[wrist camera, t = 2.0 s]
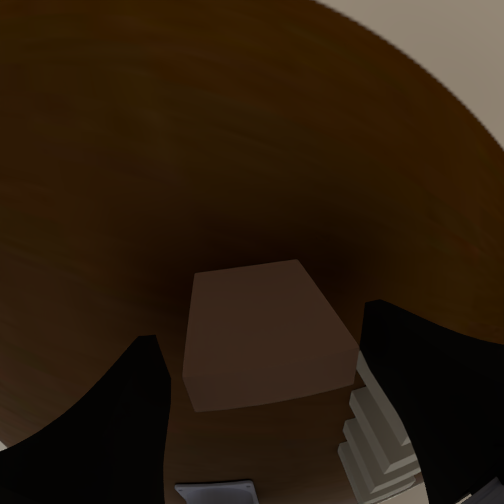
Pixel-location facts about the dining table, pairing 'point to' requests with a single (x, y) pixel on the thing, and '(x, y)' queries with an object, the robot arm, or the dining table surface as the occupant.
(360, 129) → the dining table surface
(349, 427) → the domino
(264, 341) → the domino
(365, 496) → the domino
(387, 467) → the domino
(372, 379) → the domino
